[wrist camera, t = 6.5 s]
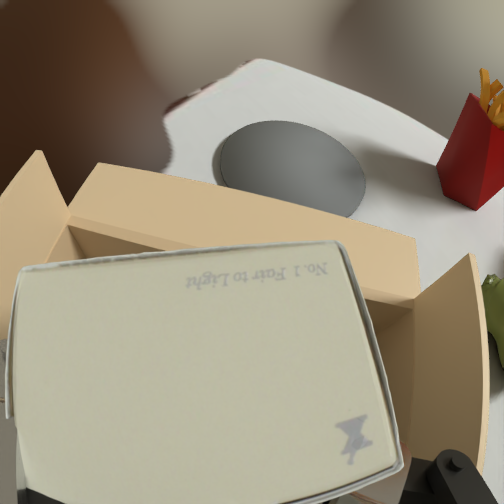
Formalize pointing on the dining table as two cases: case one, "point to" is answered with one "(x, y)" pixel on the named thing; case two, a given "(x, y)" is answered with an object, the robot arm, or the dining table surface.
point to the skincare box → (199, 377)
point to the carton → (264, 231)
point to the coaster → (293, 166)
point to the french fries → (476, 149)
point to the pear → (494, 310)
